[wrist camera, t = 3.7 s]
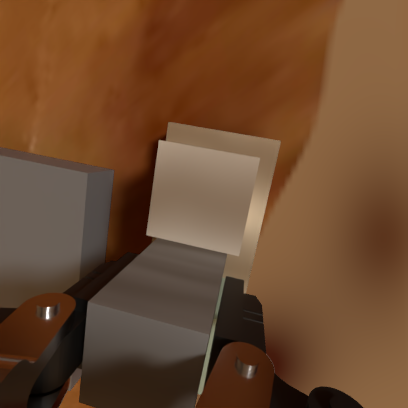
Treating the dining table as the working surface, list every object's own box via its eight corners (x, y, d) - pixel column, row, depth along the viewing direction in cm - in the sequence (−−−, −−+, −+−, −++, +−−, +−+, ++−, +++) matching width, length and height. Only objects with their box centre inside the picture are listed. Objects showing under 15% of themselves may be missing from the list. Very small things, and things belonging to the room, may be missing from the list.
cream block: (183, 143, 14) (159, 140, 10) (256, 157, 14) (260, 158, 10) (172, 214, 15) (146, 235, 11) (241, 229, 15) (238, 256, 11)
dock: (-16, 144, 19) (-64, 142, 16) (114, 169, 18) (87, 173, 15) (-15, 325, 22) (-55, 350, 19) (95, 357, 21) (70, 391, 18)
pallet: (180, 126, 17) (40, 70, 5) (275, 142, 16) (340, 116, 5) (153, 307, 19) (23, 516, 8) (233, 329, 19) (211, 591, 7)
